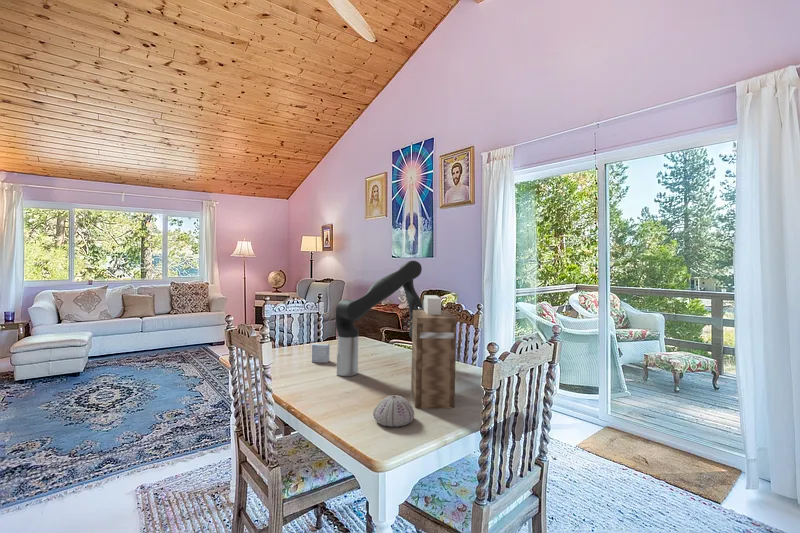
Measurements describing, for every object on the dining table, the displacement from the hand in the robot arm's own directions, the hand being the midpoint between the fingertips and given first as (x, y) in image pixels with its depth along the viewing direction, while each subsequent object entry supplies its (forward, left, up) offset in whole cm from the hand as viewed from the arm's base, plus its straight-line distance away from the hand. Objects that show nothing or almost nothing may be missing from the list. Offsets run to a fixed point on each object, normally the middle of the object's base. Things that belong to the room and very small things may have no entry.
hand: (427, 305), depth 165 cm
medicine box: (-49, +33, -33) cm, 68 cm away
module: (0, -9, -1) cm, 9 cm away
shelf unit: (0, -18, -33) cm, 37 cm away
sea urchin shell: (-15, -38, -33) cm, 52 cm away
